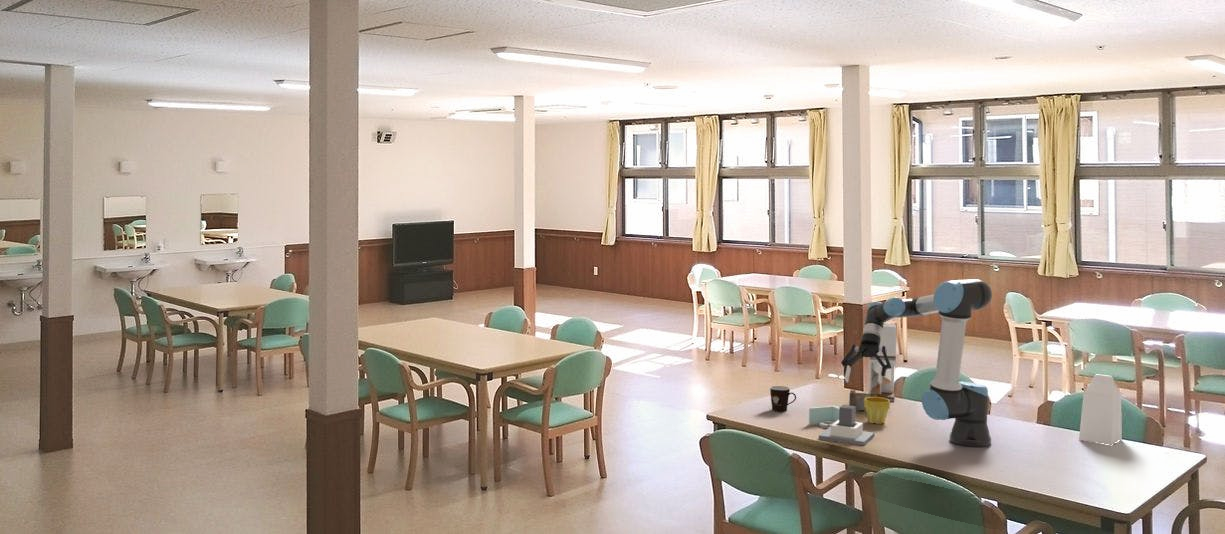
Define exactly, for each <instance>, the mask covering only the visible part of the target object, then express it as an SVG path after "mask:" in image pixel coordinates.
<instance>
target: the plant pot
mask: <svg viewBox="0 0 1225 534" xmlns="http://www.w3.org/2000/svg"><path fill="white" fill-rule="evenodd" d="M890 405H891V402H890V400H889V399H886V398H881V397H867V398H865V399H864V406H865V407H866V411H865V412H866V416H867V417H866V418H867V422H868V423H869V424H873V423H876V424H875V425H883V424H885V423H886V418H887V413H888V410H889V409H890ZM882 423H883V424H882Z"/></svg>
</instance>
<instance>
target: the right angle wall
mask: <svg viewBox="0 0 1225 534" xmlns="http://www.w3.org/2000/svg"><path fill="white" fill-rule="evenodd" d="M837 420H839V406H837V405H827V406H818V407H817V406H816V407H809V408H808V425H809V426H814V425H815V426H816V425H818V426H819V428H821V429H828V428H829V427H831V425H832V424H833V423H835V422H836V421H837Z"/></svg>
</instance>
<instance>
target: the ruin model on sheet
mask: <svg viewBox="0 0 1225 534" xmlns="http://www.w3.org/2000/svg"><path fill="white" fill-rule="evenodd" d="M849 391H850V392H849V402H848V403H849V405H850V406H856V409H855V411H860V410H865V411H864V412H866V407H865V406H864V399H865V398H867V397H876V394H868V393H865V392H864V393H863V392H856V390H855V389H850V390H849Z"/></svg>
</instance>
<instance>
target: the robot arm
mask: <svg viewBox="0 0 1225 534" xmlns="http://www.w3.org/2000/svg"><path fill="white" fill-rule="evenodd" d="M992 300H993V291H992V288H991V286H990V285H989V284H988V283H987V282H985V281H984V280H982V279H976V278H972V279H957V280H955V279H951V280H948V281H947V280H946V281H943V282H941V283H940V284H938V286H937V287H936V288H935V290H934V293H932V294H929V295H925V296H920V297H914V298H903V299H902V298H900V297H898V296H893V297H890V298H887V300H885V301H884V302H880V301H873V302H871V303H869V305H868V308H867V310H866V314H865V316H866V317H865V320H864V321H865V322H864V326H863V331H862V335H861V340H860V341H861V342H860V345H859V346H858V345H856V344H852V347H851V349H850V350H849V351H848V353H847V354H846V356H844V358H843V359H842V360H841V361H840V363H841V365H842V367H844V369H843V373H844V374H845V375H844V382H846V383H849V380H850V375H851V372H852V371H851V370H852V368H851V367H852V366H853V365H854V364H856V363H857V362H858V361H859V360H860V359H863V358H869V357H870V358H872V357H875V358H876V359H877V361H878V362H879V363H880V365H881V366H882V367H880V371H879V376H878V383H879V384H881V382H882V377H883V376H885V374H886V370H887V369H891V368H892V367H891V365H890V362H889V359H888V357H887V354H886V352H887V350H886V348H885V346H883V347H879V346H880V341H881V339H880V338H881V335H882V330H883V325H884V323H888V322H889V321H890V320H893V319H901V318H911V317H914V318H915V317H924V316H927V315H931V314H938V316H940V317H941V327H940V334H939V343H938V352H937V360H936V367H935V368H936V371H935V377H934V379H933V380H931V381H930V384H929V389H926V390H925V391H924V392H923V394H922V396H921V405H922V408H923V410H924V412H925V413H926V415H927V416H928V417H929V418H930V419H931V420H932V419H933V420H935V421H941V420H942V421H946V420H950V419H954V422H953V426H952V428H951V432H950V433H949V441H950V442H951V443H952V444H956V445H960V446H962V447H963V446H964V447H971V448H972V447H974V448H977V447H978V448H980V447H981V448H983V447H988V446H990V445H991V444H992V437H991V435H990V431H989V426H988V406H989V389H988V387H987V386H985V385H983V384H980V383H976V382H975V383H974V382H969V381H960V375H961V374H960V373H961V368H962V359H963V351H964V343H965V342H964V341H965V335H966V327H967V326H966V325H967V322H968V321H970V320H971V318H972V314H973V311H976V310H977V311H978V310H979V311H980V310H982V309H984V308H987V306H988V305H989V304H990V303H991V302H992ZM858 350H859V351H858ZM879 351H881V352H882V353H883V355H884V358H885V361H886V364H887V365H885V364H884V363H883V361H882V360H881V359H880V357H879V356H878V355H877V353H878V352H879Z"/></svg>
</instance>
